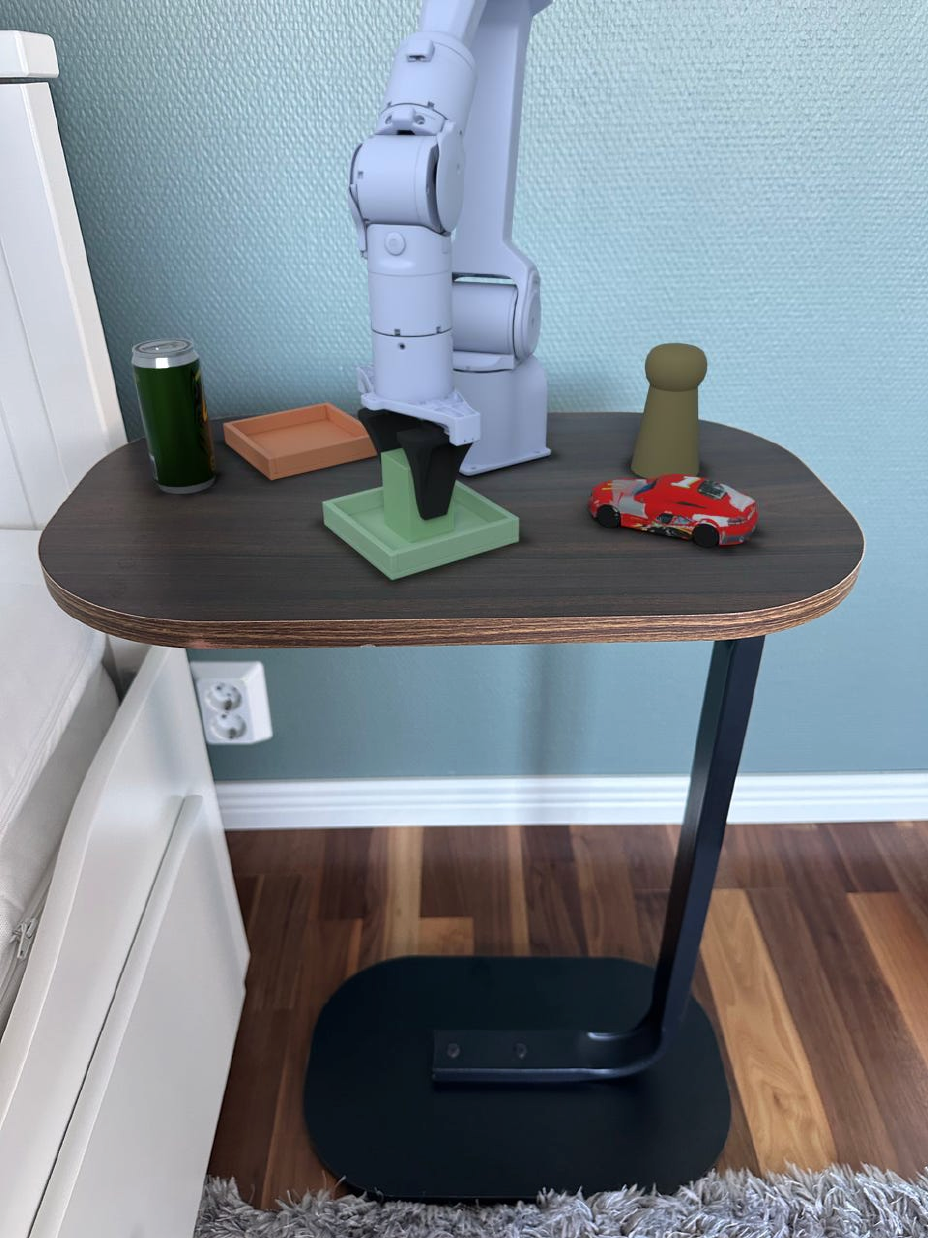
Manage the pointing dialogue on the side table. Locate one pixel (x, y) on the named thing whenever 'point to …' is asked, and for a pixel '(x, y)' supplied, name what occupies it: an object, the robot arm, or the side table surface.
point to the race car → (677, 508)
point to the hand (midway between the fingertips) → (418, 505)
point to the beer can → (174, 414)
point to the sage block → (408, 501)
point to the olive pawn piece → (670, 412)
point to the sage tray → (396, 557)
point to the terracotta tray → (299, 440)
